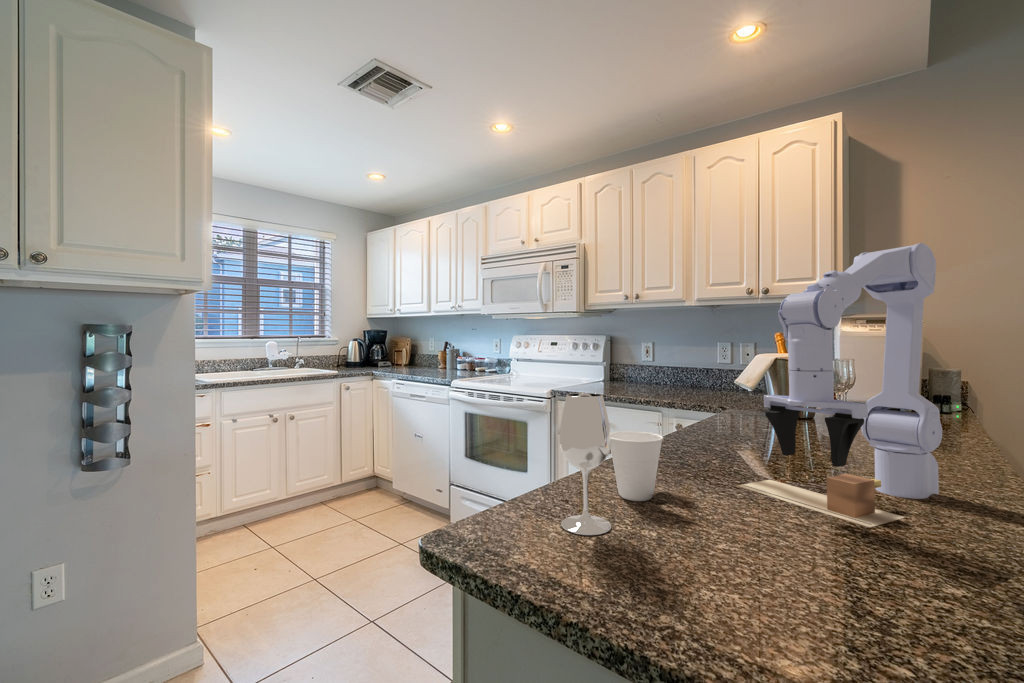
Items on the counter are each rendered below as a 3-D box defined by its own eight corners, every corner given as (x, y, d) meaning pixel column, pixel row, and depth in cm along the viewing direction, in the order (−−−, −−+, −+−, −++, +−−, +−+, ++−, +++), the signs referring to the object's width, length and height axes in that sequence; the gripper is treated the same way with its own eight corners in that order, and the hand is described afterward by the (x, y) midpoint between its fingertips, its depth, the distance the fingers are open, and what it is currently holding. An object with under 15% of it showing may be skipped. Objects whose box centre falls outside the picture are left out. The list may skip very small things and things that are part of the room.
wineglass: (617, 521, 73) (615, 393, 73) (605, 540, 65) (603, 398, 66) (569, 513, 76) (568, 391, 76) (553, 531, 69) (551, 396, 69)
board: (770, 487, 89) (769, 479, 89) (905, 527, 69) (905, 517, 69) (736, 493, 85) (736, 485, 85) (869, 537, 65) (869, 527, 65)
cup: (667, 507, 79) (666, 442, 79) (608, 503, 81) (607, 440, 81) (660, 489, 88) (660, 431, 89) (607, 486, 90) (607, 430, 91)
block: (863, 500, 76) (863, 470, 76) (891, 508, 73) (891, 476, 73) (827, 509, 72) (826, 477, 73) (855, 518, 69) (854, 484, 69)
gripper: (750, 369, 75) (752, 453, 75) (844, 373, 62) (847, 475, 62) (779, 368, 78) (781, 448, 78) (875, 371, 65) (878, 468, 65)
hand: (812, 459), depth 70 cm, fingers open, 7 cm apart
